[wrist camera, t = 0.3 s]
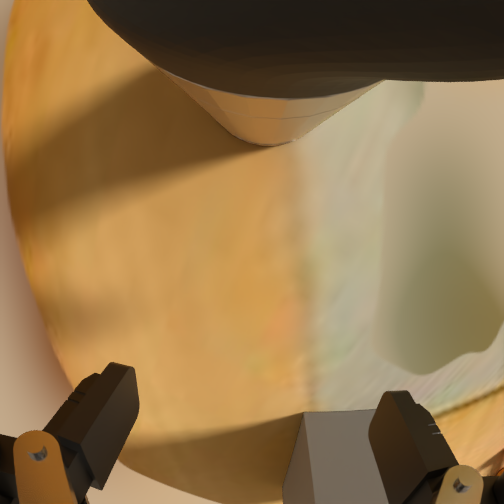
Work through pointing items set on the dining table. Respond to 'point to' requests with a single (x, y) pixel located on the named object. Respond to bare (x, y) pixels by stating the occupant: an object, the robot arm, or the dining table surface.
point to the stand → (334, 461)
